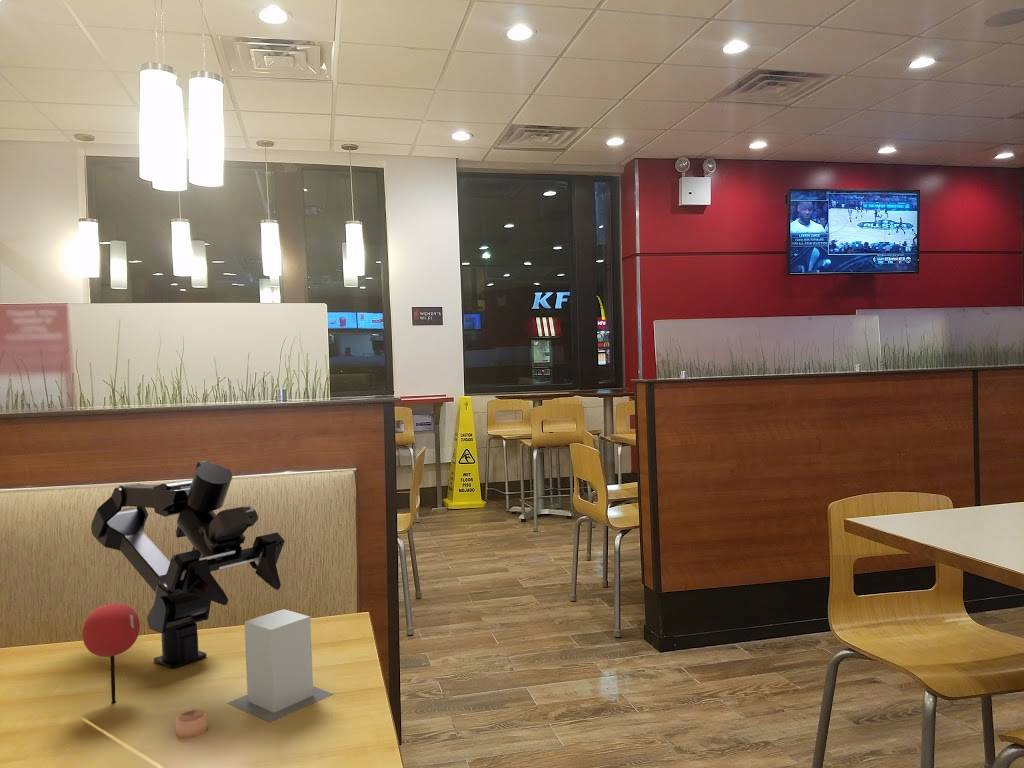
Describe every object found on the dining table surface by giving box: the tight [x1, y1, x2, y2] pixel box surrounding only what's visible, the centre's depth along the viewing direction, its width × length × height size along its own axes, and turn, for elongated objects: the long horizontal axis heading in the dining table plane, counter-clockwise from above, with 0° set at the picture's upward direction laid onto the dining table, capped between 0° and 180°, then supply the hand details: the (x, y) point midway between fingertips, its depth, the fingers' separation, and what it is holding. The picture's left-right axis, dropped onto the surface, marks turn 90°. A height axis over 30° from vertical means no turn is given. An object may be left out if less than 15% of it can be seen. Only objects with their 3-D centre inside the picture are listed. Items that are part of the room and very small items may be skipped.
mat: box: [227, 685, 334, 723], centre depth 110 cm, size 11×11×1 cm
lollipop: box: [82, 602, 141, 704], centre depth 111 cm, size 8×8×15 cm
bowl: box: [175, 709, 209, 739], centre depth 100 cm, size 4×4×3 cm
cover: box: [244, 608, 314, 713], centre depth 110 cm, size 7×7×12 cm
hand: (253, 595), depth 114 cm, fingers open, 9 cm apart
